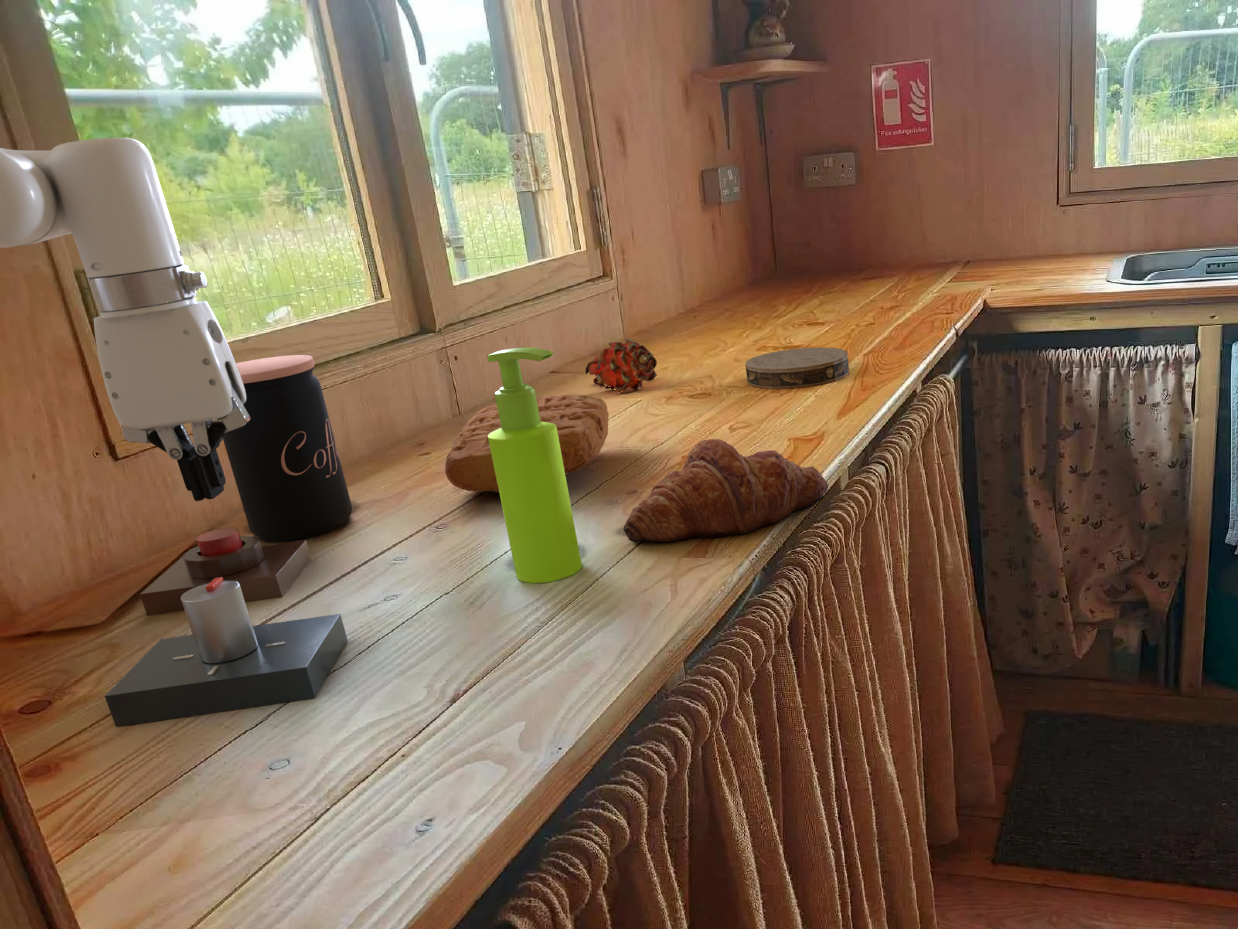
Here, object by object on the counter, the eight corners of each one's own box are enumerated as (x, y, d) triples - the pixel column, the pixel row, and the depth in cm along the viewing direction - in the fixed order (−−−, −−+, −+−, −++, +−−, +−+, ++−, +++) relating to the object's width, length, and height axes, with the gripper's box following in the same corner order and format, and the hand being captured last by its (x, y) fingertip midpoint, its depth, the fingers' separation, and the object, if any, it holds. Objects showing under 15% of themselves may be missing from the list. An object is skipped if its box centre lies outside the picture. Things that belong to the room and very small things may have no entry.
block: (147, 616, 99) (133, 575, 97) (188, 577, 108) (176, 539, 106) (282, 597, 100) (270, 556, 98) (312, 560, 109) (301, 522, 107)
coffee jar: (309, 546, 113) (262, 374, 107) (230, 544, 117) (179, 378, 110) (375, 512, 122) (335, 352, 116) (299, 511, 126) (256, 356, 119)
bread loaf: (493, 458, 141) (480, 397, 138) (623, 445, 140) (614, 383, 137) (440, 512, 120) (424, 441, 117) (593, 497, 119) (581, 426, 116)
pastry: (700, 490, 117) (690, 417, 114) (834, 493, 111) (827, 417, 108) (622, 545, 103) (609, 464, 100) (771, 552, 97) (761, 466, 94)
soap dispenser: (570, 585, 95) (528, 355, 88) (504, 581, 97) (456, 358, 90) (603, 560, 100) (565, 341, 93) (538, 558, 102) (496, 344, 95)
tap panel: (115, 726, 78) (103, 693, 77) (170, 666, 87) (160, 636, 86) (315, 697, 79) (305, 665, 78) (348, 641, 88) (340, 611, 87)
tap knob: (247, 659, 80) (226, 593, 78) (192, 666, 80) (169, 600, 78) (265, 637, 84) (246, 573, 82) (212, 644, 84) (191, 580, 82)
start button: (196, 561, 101) (190, 543, 100) (209, 548, 104) (204, 530, 103) (235, 555, 101) (230, 537, 100) (248, 542, 104) (243, 525, 104)
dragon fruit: (666, 398, 172) (597, 413, 175) (669, 358, 176) (602, 374, 180) (643, 362, 165) (572, 378, 168) (648, 322, 169) (579, 338, 173)
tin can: (726, 384, 170) (724, 364, 168) (799, 363, 179) (797, 345, 178) (796, 392, 158) (795, 372, 157) (870, 370, 168) (869, 350, 167)
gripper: (246, 277, 98) (303, 473, 105) (75, 300, 97) (143, 496, 103) (217, 286, 91) (280, 495, 98) (32, 311, 90) (108, 520, 97)
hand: (209, 495), depth 101 cm, fingers closed
